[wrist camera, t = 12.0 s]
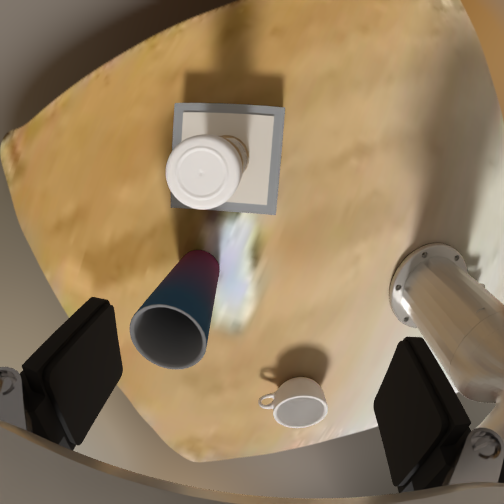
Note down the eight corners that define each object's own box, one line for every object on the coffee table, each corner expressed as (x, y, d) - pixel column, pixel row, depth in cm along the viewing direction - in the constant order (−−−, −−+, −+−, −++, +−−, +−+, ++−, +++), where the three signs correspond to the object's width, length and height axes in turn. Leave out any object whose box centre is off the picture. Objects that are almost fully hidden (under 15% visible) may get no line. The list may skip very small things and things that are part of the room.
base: (282, 111, 32) (285, 107, 28) (274, 206, 36) (275, 215, 32) (184, 106, 33) (174, 102, 29) (180, 200, 36) (170, 207, 32)
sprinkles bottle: (205, 134, 30) (164, 133, 17) (251, 136, 30) (242, 135, 17) (203, 179, 31) (163, 209, 19) (248, 181, 31) (237, 213, 19)
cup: (180, 235, 38) (134, 292, 24) (233, 253, 38) (215, 320, 24) (168, 283, 40) (126, 353, 26) (218, 299, 41) (196, 378, 27)
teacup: (326, 369, 44) (332, 394, 39) (319, 403, 47) (322, 427, 42) (260, 368, 45) (259, 394, 40) (258, 402, 47) (257, 427, 42)
